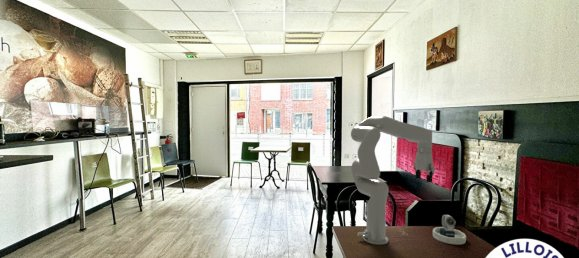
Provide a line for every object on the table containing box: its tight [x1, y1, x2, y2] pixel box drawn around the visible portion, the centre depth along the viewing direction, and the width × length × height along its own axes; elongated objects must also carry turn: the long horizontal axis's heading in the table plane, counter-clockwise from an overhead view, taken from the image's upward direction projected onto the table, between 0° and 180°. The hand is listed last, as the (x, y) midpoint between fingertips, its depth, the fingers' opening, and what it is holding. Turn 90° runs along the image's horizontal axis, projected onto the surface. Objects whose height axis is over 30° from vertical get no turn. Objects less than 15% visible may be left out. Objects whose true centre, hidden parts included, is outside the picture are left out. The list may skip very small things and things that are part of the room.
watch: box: [440, 214, 457, 238], centre depth 147 cm, size 6×8×11 cm
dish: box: [432, 226, 467, 246], centre depth 147 cm, size 15×15×3 cm
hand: (423, 180), depth 159 cm, fingers open, 9 cm apart
